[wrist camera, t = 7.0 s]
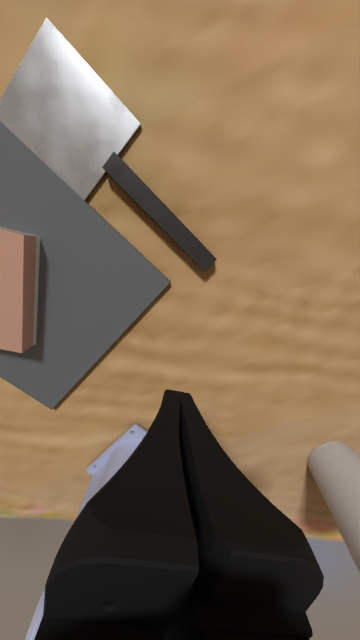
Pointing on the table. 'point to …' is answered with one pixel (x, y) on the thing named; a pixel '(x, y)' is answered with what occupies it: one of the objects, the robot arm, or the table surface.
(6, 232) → the tile
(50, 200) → the mat
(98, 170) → the turner
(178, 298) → the table surface
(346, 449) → the dixie cup
